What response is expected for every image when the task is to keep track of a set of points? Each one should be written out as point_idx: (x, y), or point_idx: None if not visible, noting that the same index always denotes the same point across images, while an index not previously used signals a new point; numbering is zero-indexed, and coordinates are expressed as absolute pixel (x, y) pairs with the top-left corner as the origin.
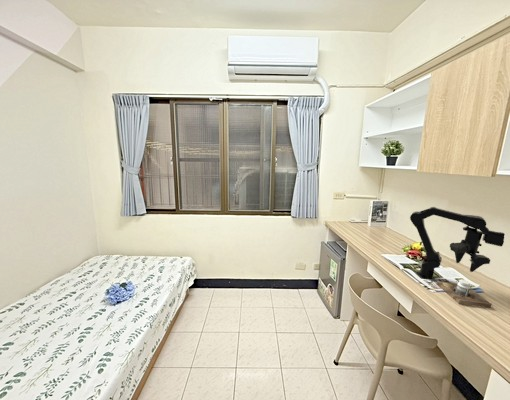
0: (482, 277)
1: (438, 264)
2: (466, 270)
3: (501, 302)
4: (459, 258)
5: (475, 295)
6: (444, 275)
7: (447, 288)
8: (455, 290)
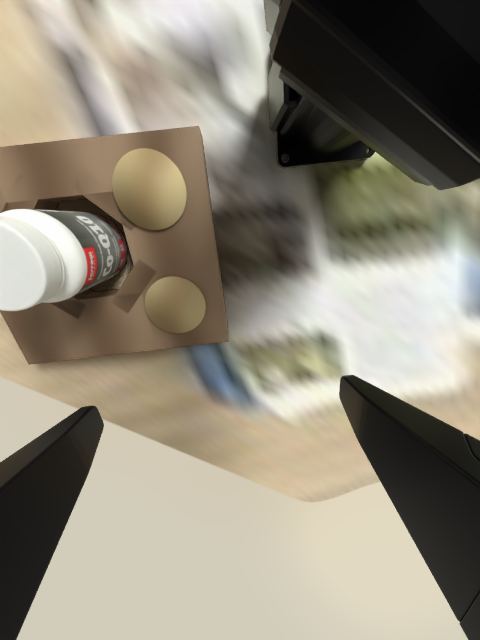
0: (365, 467)
1: (280, 10)
2: None
3: (143, 425)
4: (389, 460)
5: (93, 328)
6: (360, 290)
7: (88, 156)
8: (88, 215)
